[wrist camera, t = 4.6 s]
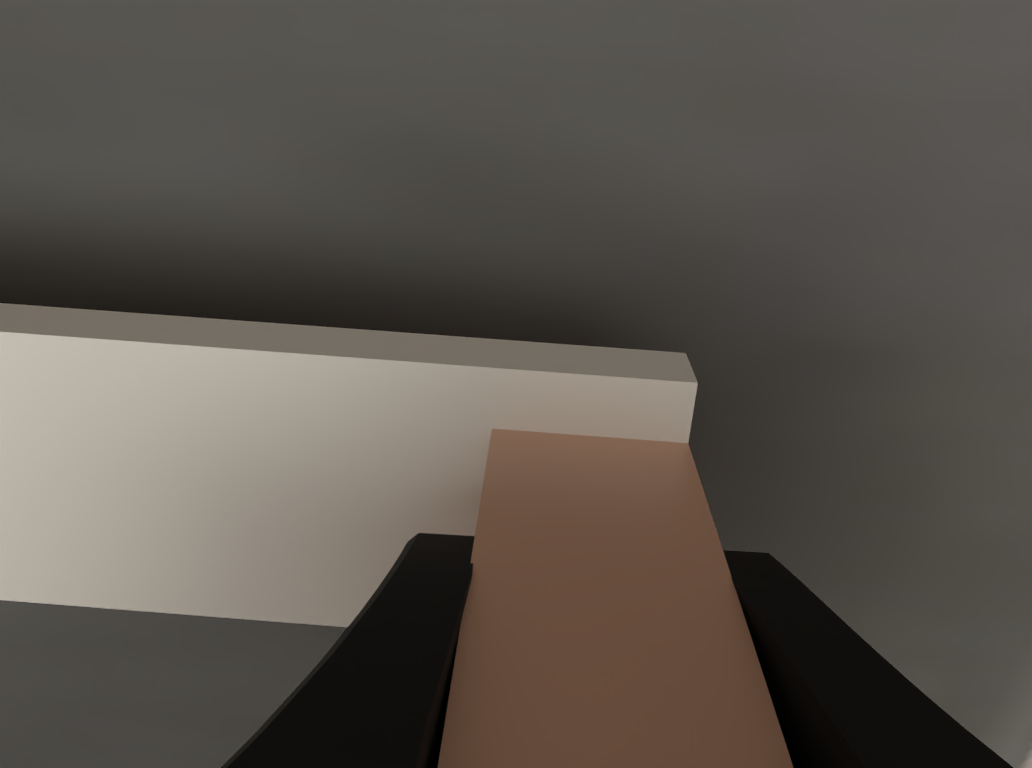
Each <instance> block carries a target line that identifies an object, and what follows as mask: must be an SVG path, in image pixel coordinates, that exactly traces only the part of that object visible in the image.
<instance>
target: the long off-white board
mask: <svg viewBox="0 0 1032 768" xmlns="http://www.w3.org/2000/svg"><path fill="white" fill-rule="evenodd" d="M697 385H698V382H697V379H696V377H695V375H694V372H693V370H692V367H691V365H690V362H689V360H688V357H687V355H686V353H679V352H665V351H652V350H638V349H624V348H610V347H597V346H583V345H569V344H555V343H542V342H528V341H514V340H500V339H487V338H473V337H459V336H445V335H432V334H418V333H404V332H391V331H377V330H363V329H349V328H336V327H322V326H308V325H294V324H281V323H267V322H253V321H239V320H226V319H212V318H198V317H185V316H171V315H157V314H143V313H130V312H116V311H102V310H88V309H75V308H61V307H47V306H33V305H20V304H6V303H0V600H7V601H19V602H32V603H45V604H58V605H70V606H83V607H96V608H108V609H121V610H134V611H146V612H159V613H172V614H185V615H197V616H210V617H223V618H235V619H248V620H261V621H273V622H286V623H299V624H312V625H324V626H337V627H348V626H349V625H350V624H351V623H352V621H353V620H354V619H355V618H356V616H357V615H358V614H359V613H360V611H361V610H362V609H363V607H364V606H365V604H366V603H367V602H368V600H369V599H370V598H371V596H372V595H373V594H374V592H375V591H376V589H377V588H378V587H379V585H380V584H381V582H382V581H383V580H384V578H385V577H386V575H387V574H388V572H389V571H390V569H391V568H392V566H393V565H394V563H395V562H396V560H397V559H398V557H399V555H400V554H401V552H402V550H403V549H404V547H405V545H406V543H407V542H408V541H409V540H410V539H412V538H413V537H414V536H415V535H417V534H418V533H430V534H448V535H465V536H475V538H474V544H473V550H472V556H471V563H473V572H472V579H471V583H470V587H469V591H468V595H467V599H466V603H465V608H464V612H463V616H462V620H461V625H460V631H459V637H458V644H457V650H456V656H455V662H454V669H453V675H452V681H451V687H450V693H449V700H448V706H447V712H446V718H445V725H444V731H443V737H442V743H441V749H440V756H439V762H438V768H793V765H792V762H791V758H790V755H789V752H788V749H787V746H786V743H785V740H784V737H783V734H782V731H781V728H780V725H779V721H778V718H777V715H776V712H775V709H774V706H773V703H772V700H771V697H770V694H769V691H768V688H767V684H766V681H765V678H764V675H763V672H762V669H761V666H760V663H759V660H758V657H757V654H756V651H755V647H754V644H753V641H752V638H751V635H750V632H749V629H748V626H747V623H746V620H745V617H744V614H743V610H742V607H741V604H740V601H739V598H738V595H737V592H736V589H735V587H734V584H733V581H732V579H731V578H732V577H731V573H730V570H729V567H728V564H727V561H726V558H725V555H724V552H723V549H722V546H721V543H720V540H719V536H718V533H717V530H716V527H715V524H714V521H713V518H712V515H711V512H710V509H709V506H708V503H707V499H706V496H705V493H704V490H703V487H702V484H701V481H700V478H699V475H698V472H697V469H696V466H695V462H694V459H693V456H692V453H691V450H690V447H689V444H688V442H689V436H690V429H691V423H692V417H693V410H694V404H695V398H696V392H697Z"/></svg>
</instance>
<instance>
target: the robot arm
mask: <svg viewBox="0 0 1032 768" xmlns="http://www.w3.org/2000/svg"><path fill="white" fill-rule="evenodd" d="M474 538H475V536H465V535H448V534H430V533H418V534H417V535H415V536H414V537H413V538H412V539H410V540H409V541H408V542H407V543H406V545H405V547H404V549H403V550H402V552H401V554H400V555H399V557H398V559H397V560H396V562H395V563H394V565H393V566H392V568H391V569H390V571H389V572H388V574H387V575H386V577H385V578H384V580H383V581H382V582H381V584H380V585H379V587H378V588H377V589H376V591H375V592H374V594H373V595H372V596H371V598H370V599H369V600H368V602H367V603H366V604H365V606H364V607H363V609H362V610H361V611H360V613H359V614H358V615H357V616H356V618H355V619H354V620H353V621H352V623H351V624H350V625H349V626H348V628H347V629H346V630H345V631H344V633H343V634H342V635H341V636H340V638H339V639H338V640H337V641H336V643H335V644H334V645H333V646H332V647H331V649H330V650H329V651H328V652H327V654H326V655H325V656H324V657H323V659H322V660H321V661H320V662H319V663H318V665H317V666H316V667H315V668H314V669H313V670H312V672H311V673H310V674H309V675H308V676H307V677H306V678H305V679H304V680H303V682H302V683H301V684H300V685H299V686H298V687H297V688H296V689H295V690H294V691H293V693H292V694H291V695H290V696H289V697H288V698H287V699H286V700H285V701H284V702H283V704H282V705H281V706H280V707H279V708H278V709H277V710H276V711H275V712H274V713H273V714H272V716H271V717H270V718H269V719H268V720H267V721H266V722H265V723H264V724H263V725H262V727H261V728H260V729H259V730H258V731H257V732H256V733H255V734H254V735H253V736H252V737H251V738H250V739H249V740H248V741H247V742H246V743H245V744H244V745H243V746H242V747H241V748H240V749H239V750H238V751H237V752H236V753H235V754H234V755H233V756H232V757H231V758H230V759H229V760H228V761H227V762H226V763H225V764H224V765H223V766H222V767H221V768H438V762H439V756H440V749H441V743H442V737H443V731H444V725H445V718H446V712H447V706H448V700H449V693H450V687H451V681H452V675H453V669H454V662H455V656H456V650H457V644H458V637H459V631H460V625H461V620H462V616H463V612H464V608H465V603H466V599H467V595H468V591H469V587H470V583H471V579H472V572H473V563H471V556H472V550H473V544H474ZM723 552H724V555H725V558H726V561H727V564H728V567H729V570H730V573H731V577H732V578H731V579H732V581H733V584H734V587H735V589H736V592H737V595H738V598H739V601H740V604H741V607H742V610H743V614H744V617H745V620H746V623H747V626H748V629H749V632H750V635H751V638H752V641H753V644H754V647H755V651H756V654H757V657H758V660H759V663H760V666H761V669H762V672H763V675H764V678H765V681H766V684H767V688H768V691H769V694H770V697H771V700H772V703H773V706H774V709H775V712H776V715H777V718H778V721H779V725H780V728H781V731H782V734H783V737H784V740H785V743H786V746H787V749H788V752H789V755H790V758H791V762H792V765H793V768H1013V767H1012V766H1011V765H1009V764H1008V763H1007V762H1006V761H1004V760H1003V759H1002V758H1001V757H1000V756H998V755H997V754H996V753H995V752H993V751H992V750H991V749H990V748H988V747H987V746H986V745H985V744H983V743H982V742H981V741H980V740H978V739H977V738H976V737H975V736H974V735H972V734H971V733H970V732H969V731H967V730H966V729H965V728H964V727H962V726H961V725H960V724H959V723H958V722H957V721H955V720H954V719H953V718H952V717H951V716H949V715H948V714H947V713H946V712H945V711H944V710H942V709H941V708H940V707H939V706H938V705H937V704H935V703H934V702H933V701H932V700H931V699H929V698H928V697H927V696H926V695H925V694H924V693H923V692H921V691H920V690H919V689H918V688H917V687H916V686H915V685H913V684H912V683H911V682H910V681H909V680H908V679H907V678H905V677H904V676H903V675H902V674H901V673H900V672H899V671H898V670H896V669H895V668H894V667H893V666H892V665H891V664H890V663H889V662H887V661H886V660H885V659H884V658H883V657H882V656H881V655H880V654H879V653H877V652H876V651H875V650H874V649H873V648H872V647H871V646H870V645H869V644H868V643H867V642H865V641H864V640H863V639H862V638H861V637H860V636H859V635H858V634H857V633H856V632H855V631H853V630H852V629H851V628H850V627H849V626H848V625H847V624H846V623H845V622H844V621H843V620H842V619H841V618H839V617H838V616H837V615H836V614H835V613H834V612H833V611H832V610H831V609H830V608H829V607H828V606H826V605H825V604H824V603H823V602H822V601H821V600H820V599H819V598H818V597H817V596H816V595H815V594H814V593H813V592H811V591H810V590H809V589H808V588H807V587H806V586H805V585H804V584H803V583H802V582H801V581H800V580H799V579H797V578H796V577H795V576H794V575H793V574H792V573H791V572H790V571H789V570H787V569H786V568H785V567H784V566H783V565H782V564H781V563H780V562H778V561H777V560H776V559H775V558H774V557H772V556H771V555H770V554H769V553H758V552H741V551H724V550H723Z"/></svg>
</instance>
